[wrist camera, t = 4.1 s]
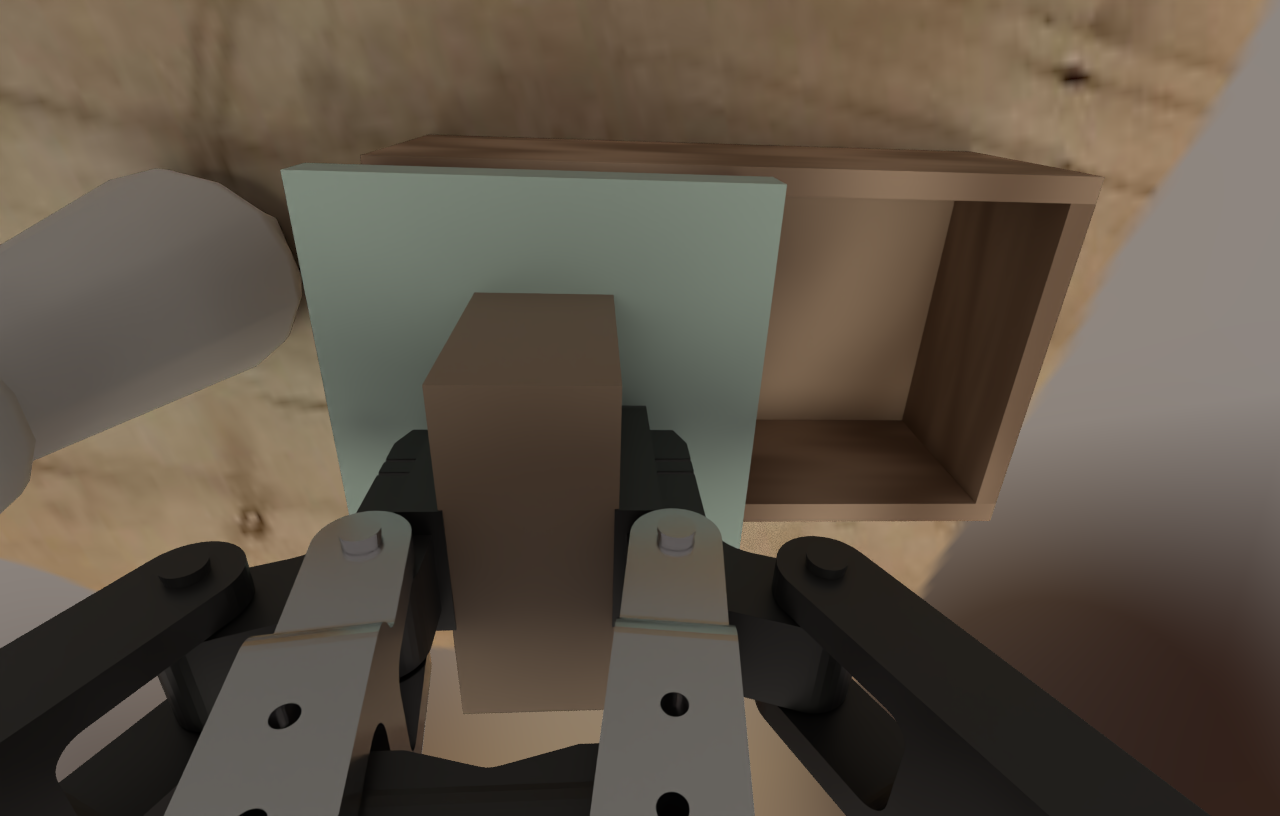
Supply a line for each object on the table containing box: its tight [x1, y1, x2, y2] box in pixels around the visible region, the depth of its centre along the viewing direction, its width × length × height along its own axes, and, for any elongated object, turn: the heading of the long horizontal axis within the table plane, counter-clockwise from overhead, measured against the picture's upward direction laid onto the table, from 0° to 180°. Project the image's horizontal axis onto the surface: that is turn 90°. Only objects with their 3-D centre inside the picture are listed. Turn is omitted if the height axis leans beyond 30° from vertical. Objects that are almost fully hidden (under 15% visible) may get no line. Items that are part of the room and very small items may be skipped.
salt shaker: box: [0, 169, 302, 514], centre depth 15 cm, size 6×6×13 cm
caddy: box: [360, 135, 1105, 522], centre depth 19 cm, size 17×10×6 cm, turn 88°
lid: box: [281, 163, 787, 714], centre depth 12 cm, size 8×10×5 cm
